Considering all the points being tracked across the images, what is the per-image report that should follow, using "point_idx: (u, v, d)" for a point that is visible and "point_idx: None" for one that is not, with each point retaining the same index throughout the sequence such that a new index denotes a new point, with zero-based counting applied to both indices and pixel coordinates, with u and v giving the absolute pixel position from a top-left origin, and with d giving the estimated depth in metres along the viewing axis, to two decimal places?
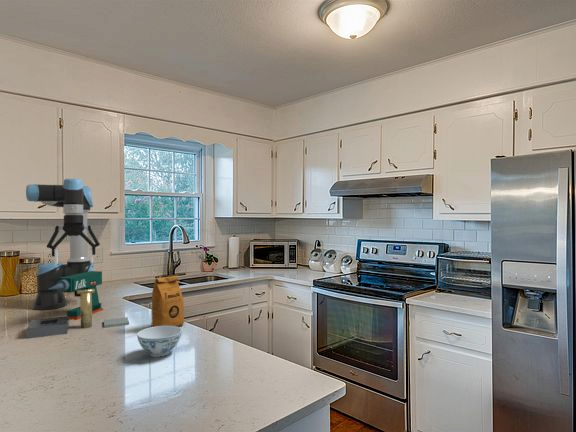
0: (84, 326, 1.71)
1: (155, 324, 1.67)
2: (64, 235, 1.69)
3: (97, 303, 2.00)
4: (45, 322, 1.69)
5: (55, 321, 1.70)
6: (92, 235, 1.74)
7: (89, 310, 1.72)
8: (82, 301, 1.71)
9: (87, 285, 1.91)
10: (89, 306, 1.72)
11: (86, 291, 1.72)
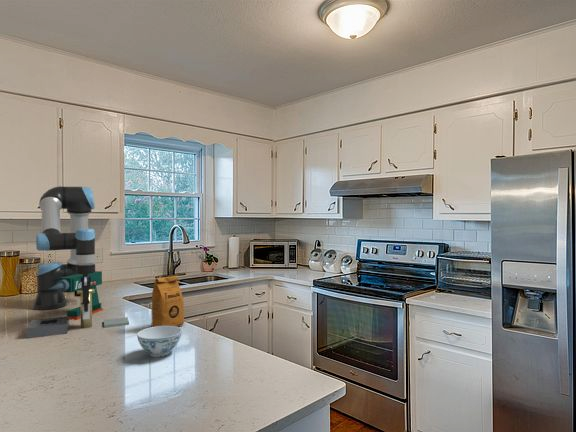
0: (84, 326, 1.71)
1: (155, 324, 1.67)
2: None
3: (97, 303, 2.00)
4: (45, 322, 1.69)
5: (55, 321, 1.70)
6: None
7: None
8: (82, 301, 1.71)
9: None
10: None
11: None
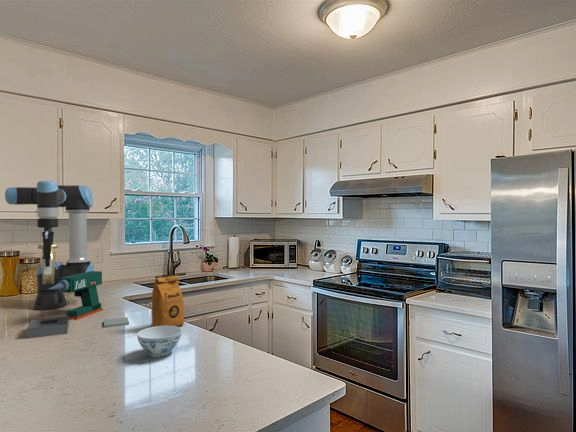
0: (46, 282, 1.64)
1: (155, 324, 1.67)
2: None
3: (97, 303, 2.00)
4: (45, 322, 1.69)
5: (55, 321, 1.70)
6: (43, 244, 1.61)
7: None
8: None
9: (87, 285, 1.91)
10: None
11: None
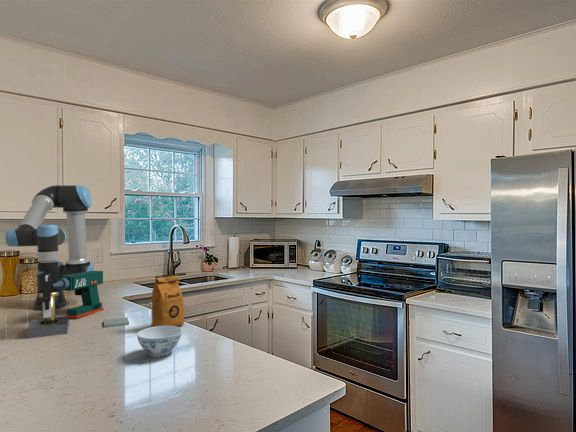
0: None
1: (155, 324, 1.67)
2: None
3: (98, 302, 2.00)
4: None
5: (55, 321, 1.70)
6: (43, 288, 1.60)
7: (52, 314, 1.66)
8: None
9: (87, 284, 1.92)
10: (52, 310, 1.66)
11: None
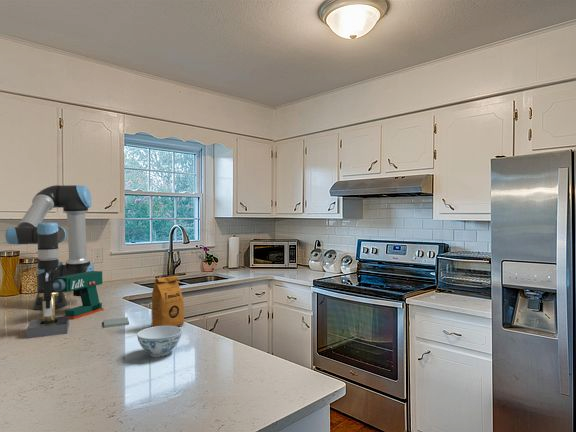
0: None
1: (155, 324, 1.67)
2: None
3: (97, 303, 2.00)
4: None
5: (55, 321, 1.70)
6: (43, 287, 1.61)
7: (52, 314, 1.66)
8: None
9: (85, 285, 1.91)
10: (52, 310, 1.66)
11: None
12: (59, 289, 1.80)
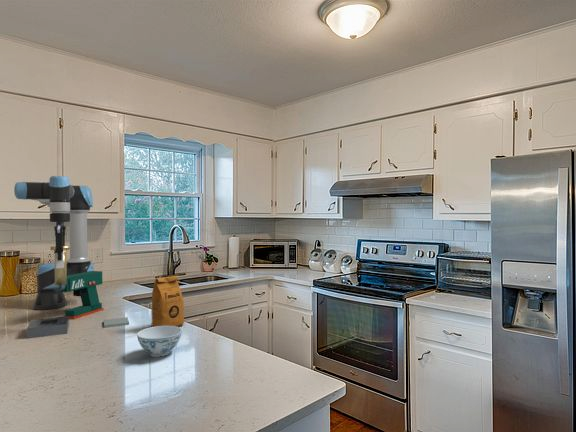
0: (58, 283, 1.66)
1: (155, 324, 1.67)
2: None
3: (97, 303, 2.00)
4: (45, 322, 1.69)
5: (55, 321, 1.70)
6: None
7: None
8: None
9: (85, 285, 1.91)
10: None
11: None
12: (59, 289, 1.80)
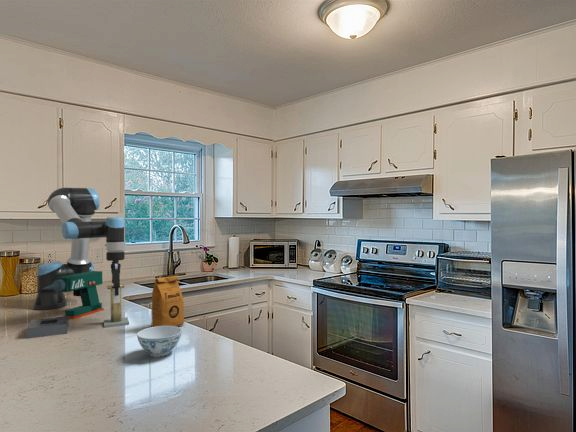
0: (114, 320, 1.76)
1: (155, 324, 1.67)
2: (111, 271, 1.80)
3: (97, 303, 2.00)
4: (45, 322, 1.69)
5: (55, 321, 1.70)
6: (113, 275, 1.71)
7: (119, 305, 1.77)
8: (112, 296, 1.76)
9: (85, 285, 1.91)
10: None
11: None
12: (59, 289, 1.80)
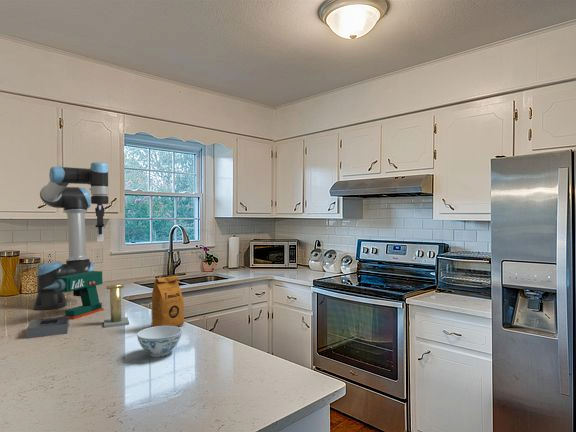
0: (114, 320, 1.76)
1: (155, 324, 1.67)
2: None
3: (97, 303, 2.00)
4: (45, 322, 1.69)
5: (55, 321, 1.70)
6: (97, 215, 1.80)
7: (119, 305, 1.77)
8: (112, 296, 1.76)
9: (85, 285, 1.91)
10: (119, 301, 1.77)
11: (115, 286, 1.77)
12: (59, 289, 1.80)
